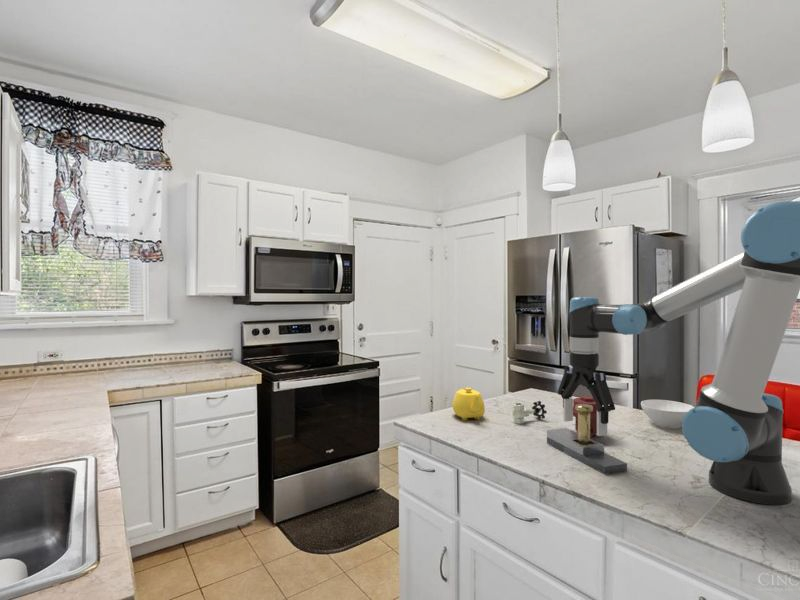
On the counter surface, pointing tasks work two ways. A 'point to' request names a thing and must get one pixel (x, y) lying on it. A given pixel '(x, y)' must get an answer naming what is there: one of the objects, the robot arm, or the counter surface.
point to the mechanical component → (593, 414)
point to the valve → (527, 412)
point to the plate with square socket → (585, 451)
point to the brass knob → (584, 423)
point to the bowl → (666, 412)
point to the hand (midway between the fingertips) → (584, 427)
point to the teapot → (468, 404)
